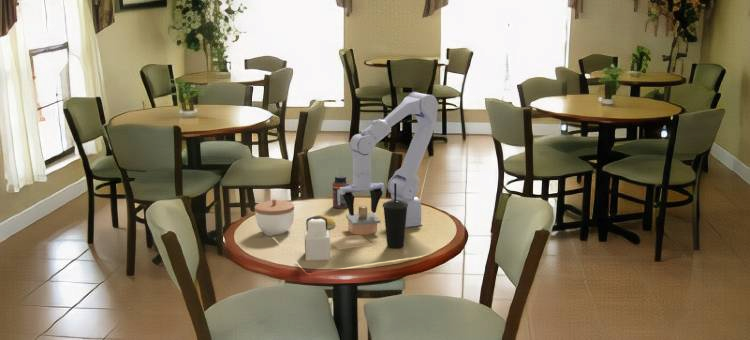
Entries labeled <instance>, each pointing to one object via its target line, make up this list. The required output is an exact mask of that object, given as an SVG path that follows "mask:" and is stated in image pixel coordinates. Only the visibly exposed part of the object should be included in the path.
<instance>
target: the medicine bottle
mask: <svg viewBox="0 0 750 340" xmlns="http://www.w3.org/2000/svg"><path fill="white" fill-rule="evenodd" d="M314 216H315V217H314ZM314 216H310V217H308V218H307V219H306V220H305V221H306V230H305V231H304V253H305V254H304V256H305V261H322V260H323V261H325V260H326V261H327V260H329V261H330V260H331V242H330V238H331V237H330V236H331V235H330V230H327V219H326V218H324V217H320V216H317V215H314Z"/></svg>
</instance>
